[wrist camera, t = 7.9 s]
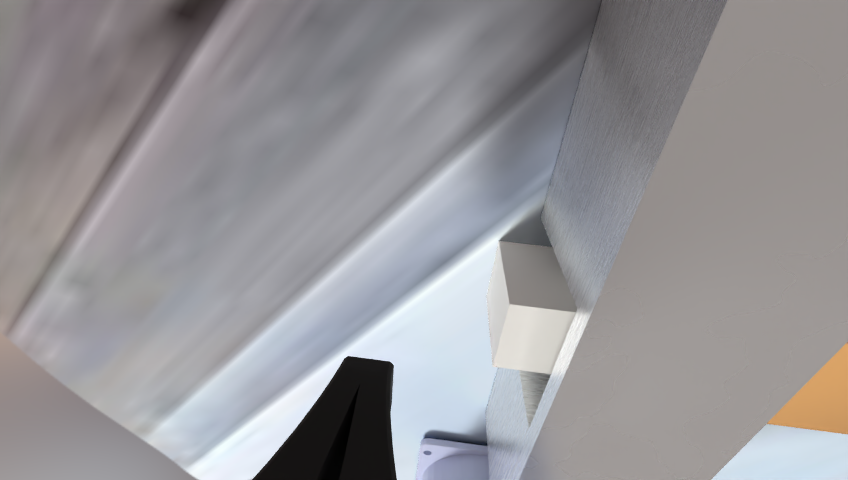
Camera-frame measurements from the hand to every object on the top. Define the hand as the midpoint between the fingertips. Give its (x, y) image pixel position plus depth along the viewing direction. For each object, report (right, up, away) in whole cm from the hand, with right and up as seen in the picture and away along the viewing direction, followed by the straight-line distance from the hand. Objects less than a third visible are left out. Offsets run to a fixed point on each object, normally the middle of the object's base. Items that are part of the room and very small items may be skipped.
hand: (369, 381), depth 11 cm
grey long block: (+9, +2, +5) cm, 11 cm away
